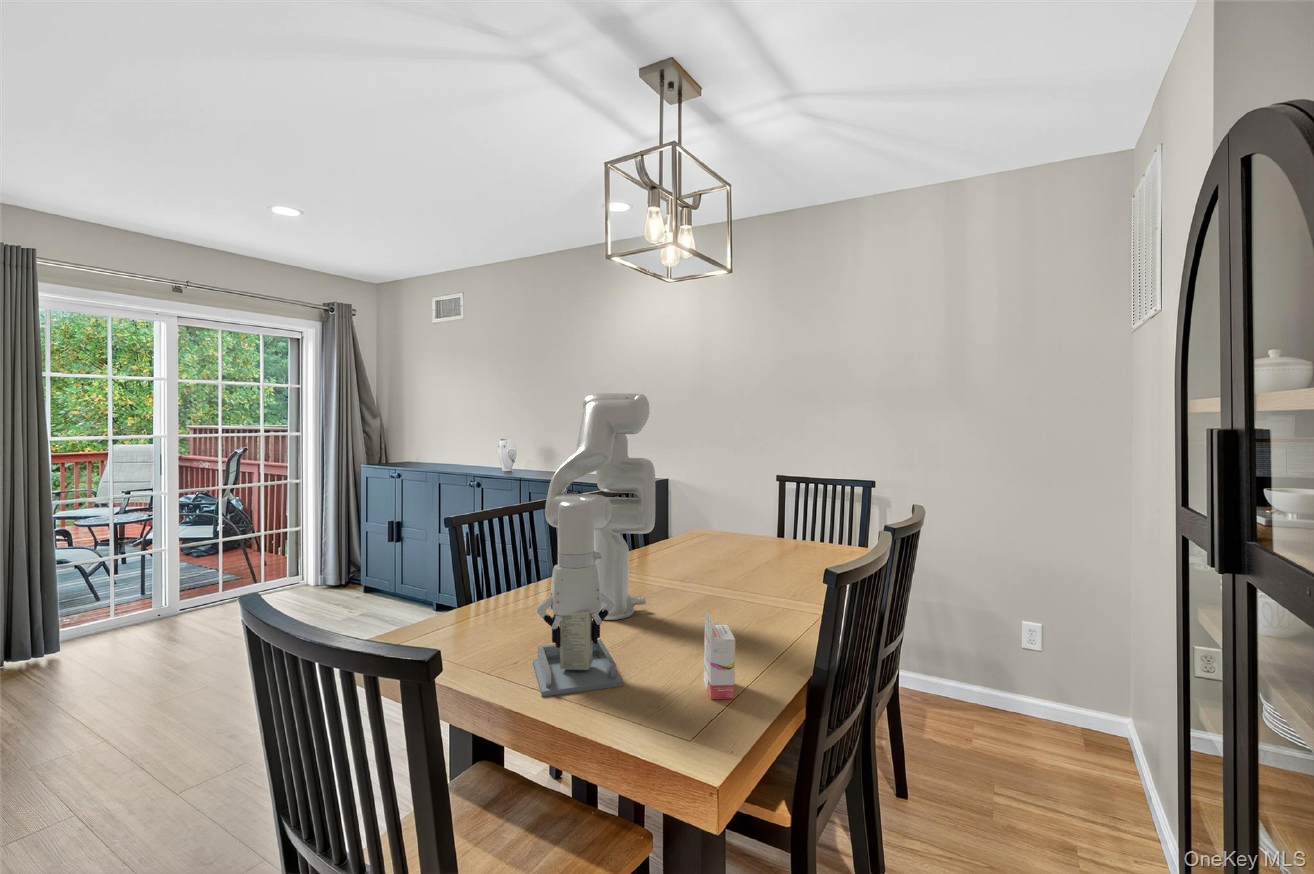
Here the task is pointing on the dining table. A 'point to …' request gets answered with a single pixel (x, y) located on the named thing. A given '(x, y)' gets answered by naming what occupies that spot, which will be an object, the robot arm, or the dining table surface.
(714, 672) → the ink cartridge box
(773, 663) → the dining table surface
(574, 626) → the skincare box
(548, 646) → the tray
